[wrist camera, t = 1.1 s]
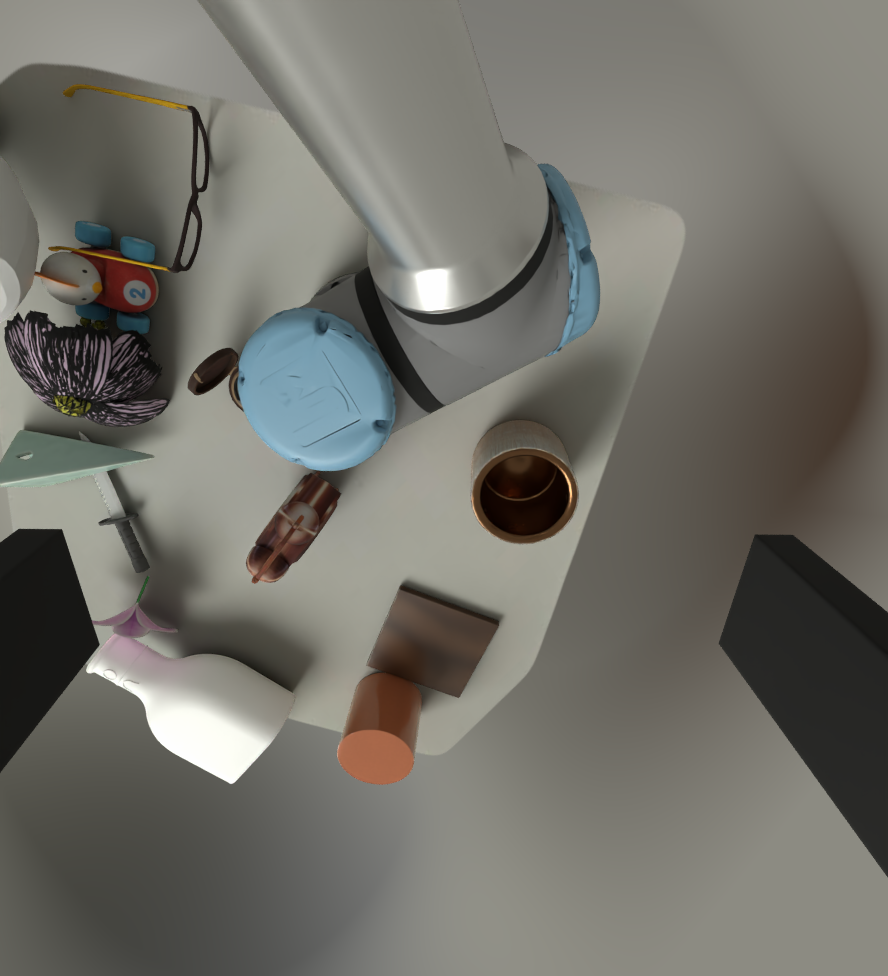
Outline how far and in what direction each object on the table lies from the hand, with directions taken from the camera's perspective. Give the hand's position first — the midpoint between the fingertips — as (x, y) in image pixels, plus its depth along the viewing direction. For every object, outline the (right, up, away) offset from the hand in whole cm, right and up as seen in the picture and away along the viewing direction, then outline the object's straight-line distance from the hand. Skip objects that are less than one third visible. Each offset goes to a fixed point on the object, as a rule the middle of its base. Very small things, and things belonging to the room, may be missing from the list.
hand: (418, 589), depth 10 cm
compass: (-20, +14, +49) cm, 55 cm away
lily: (-40, -14, +63) cm, 76 cm away
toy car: (-33, +24, +46) cm, 62 cm away
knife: (-38, 0, +55) cm, 67 cm away
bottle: (-35, -25, +67) cm, 80 cm away
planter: (+9, +5, +51) cm, 52 cm away
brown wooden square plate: (-1, -19, +62) cm, 65 cm away
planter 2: (-33, +4, +53) cm, 62 cm away
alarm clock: (-15, +1, +55) cm, 57 cm away
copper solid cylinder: (-8, -29, +67) cm, 73 cm away
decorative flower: (-36, +16, +49) cm, 63 cm away
